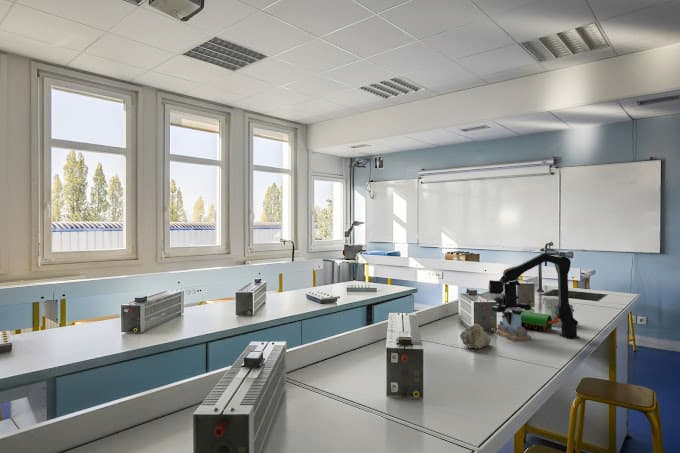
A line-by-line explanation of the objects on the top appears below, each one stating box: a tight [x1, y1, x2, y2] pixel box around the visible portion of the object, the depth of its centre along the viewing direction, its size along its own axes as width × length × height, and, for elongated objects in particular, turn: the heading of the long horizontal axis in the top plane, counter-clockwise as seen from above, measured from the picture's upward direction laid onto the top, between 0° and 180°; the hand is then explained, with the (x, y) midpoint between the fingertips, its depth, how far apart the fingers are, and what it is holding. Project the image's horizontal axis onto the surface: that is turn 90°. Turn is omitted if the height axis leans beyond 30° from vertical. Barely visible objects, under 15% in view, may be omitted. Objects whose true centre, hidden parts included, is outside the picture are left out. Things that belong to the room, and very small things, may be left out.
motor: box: [520, 310, 559, 332], centre depth 215 cm, size 10×9×20 cm
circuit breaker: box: [542, 295, 575, 327], centre depth 224 cm, size 8×14×15 cm, turn 89°
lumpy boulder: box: [459, 323, 491, 350], centre depth 188 cm, size 11×11×15 cm
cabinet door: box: [501, 312, 521, 331], centre depth 205 cm, size 12×3×8 cm, turn 12°
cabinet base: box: [496, 320, 532, 341], centre depth 205 cm, size 20×10×6 cm, turn 12°
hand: (511, 324), depth 205 cm, fingers closed on cabinet door, 2 cm apart
